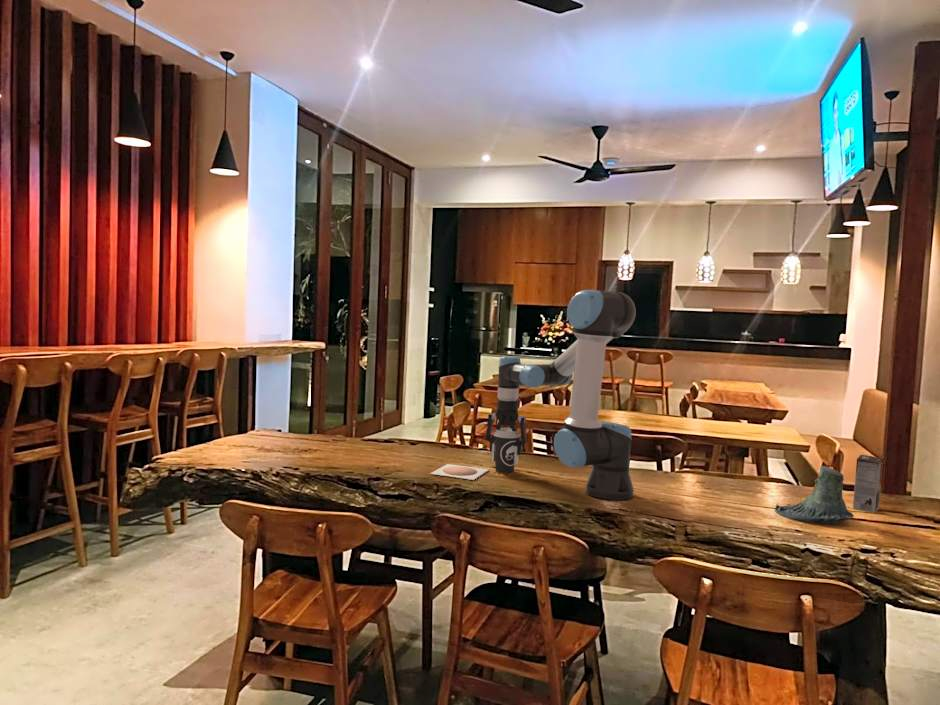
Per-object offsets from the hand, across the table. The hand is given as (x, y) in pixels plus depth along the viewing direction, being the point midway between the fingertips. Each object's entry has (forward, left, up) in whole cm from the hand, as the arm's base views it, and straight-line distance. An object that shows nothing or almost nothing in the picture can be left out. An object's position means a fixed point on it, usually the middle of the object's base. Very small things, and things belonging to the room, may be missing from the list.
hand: (504, 462), depth 229 cm
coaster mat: (+13, +11, -3) cm, 17 cm away
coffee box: (-116, -13, -3) cm, 117 cm away
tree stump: (-99, +6, -4) cm, 99 cm away
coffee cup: (0, 0, -3) cm, 3 cm away
